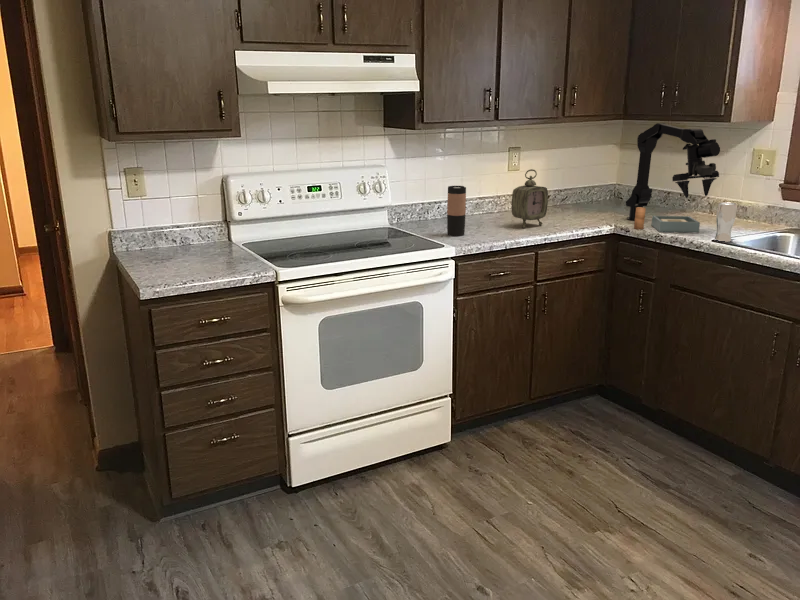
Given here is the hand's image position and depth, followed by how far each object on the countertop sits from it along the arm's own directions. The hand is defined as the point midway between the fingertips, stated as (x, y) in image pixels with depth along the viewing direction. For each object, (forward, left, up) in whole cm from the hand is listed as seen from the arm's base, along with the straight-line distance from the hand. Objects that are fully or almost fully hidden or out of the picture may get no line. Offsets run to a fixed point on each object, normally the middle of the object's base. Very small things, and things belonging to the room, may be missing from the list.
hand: (696, 196), depth 288 cm
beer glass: (+18, +7, -15) cm, 24 cm away
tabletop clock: (-5, -69, -15) cm, 71 cm away
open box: (-5, -6, -15) cm, 17 cm away
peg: (-5, -21, -15) cm, 26 cm away
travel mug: (+18, -100, -15) cm, 103 cm away
